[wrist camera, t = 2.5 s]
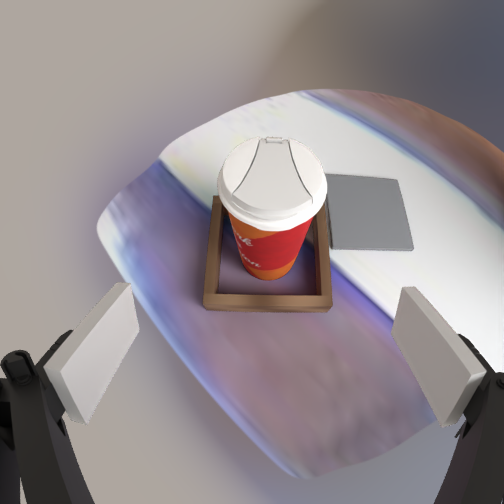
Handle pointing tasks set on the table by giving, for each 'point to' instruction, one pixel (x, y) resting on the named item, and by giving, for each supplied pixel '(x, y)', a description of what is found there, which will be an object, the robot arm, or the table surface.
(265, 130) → the table surface
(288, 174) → the paper cup
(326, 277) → the brown square open frame
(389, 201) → the mat
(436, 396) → the robot arm
